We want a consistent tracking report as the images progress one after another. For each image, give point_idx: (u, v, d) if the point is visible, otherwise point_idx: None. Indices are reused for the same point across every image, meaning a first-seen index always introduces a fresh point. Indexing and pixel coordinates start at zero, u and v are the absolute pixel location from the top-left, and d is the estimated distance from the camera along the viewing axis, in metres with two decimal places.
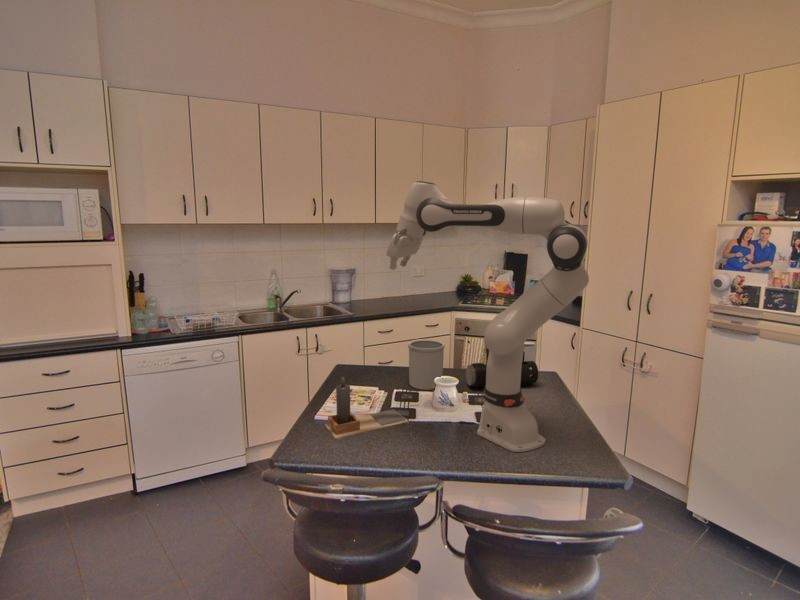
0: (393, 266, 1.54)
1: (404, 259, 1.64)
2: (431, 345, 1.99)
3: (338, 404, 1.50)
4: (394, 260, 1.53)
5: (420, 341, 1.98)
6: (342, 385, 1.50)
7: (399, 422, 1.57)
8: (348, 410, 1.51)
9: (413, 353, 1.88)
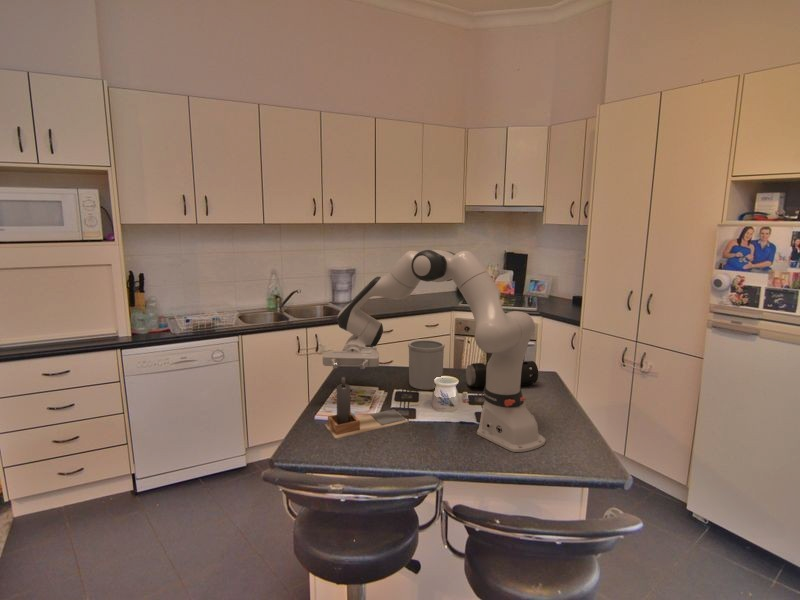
0: (333, 363, 1.63)
1: None
2: (431, 345, 1.99)
3: (338, 404, 1.50)
4: (331, 361, 1.65)
5: (420, 341, 1.98)
6: (342, 385, 1.50)
7: (399, 422, 1.57)
8: (348, 410, 1.51)
9: (413, 353, 1.88)
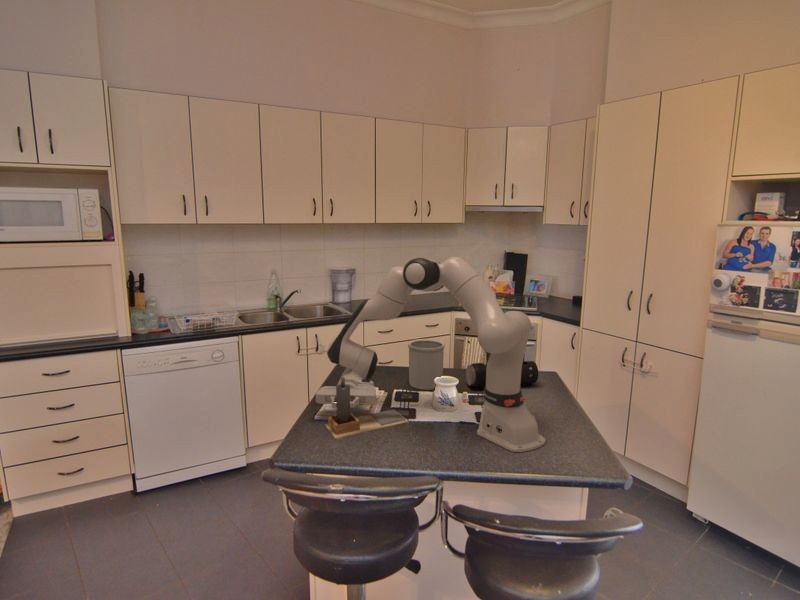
0: None
1: None
2: (431, 345, 1.99)
3: (338, 404, 1.50)
4: (330, 399, 1.54)
5: (420, 341, 1.98)
6: (342, 385, 1.50)
7: (399, 422, 1.57)
8: (348, 410, 1.51)
9: (413, 353, 1.88)
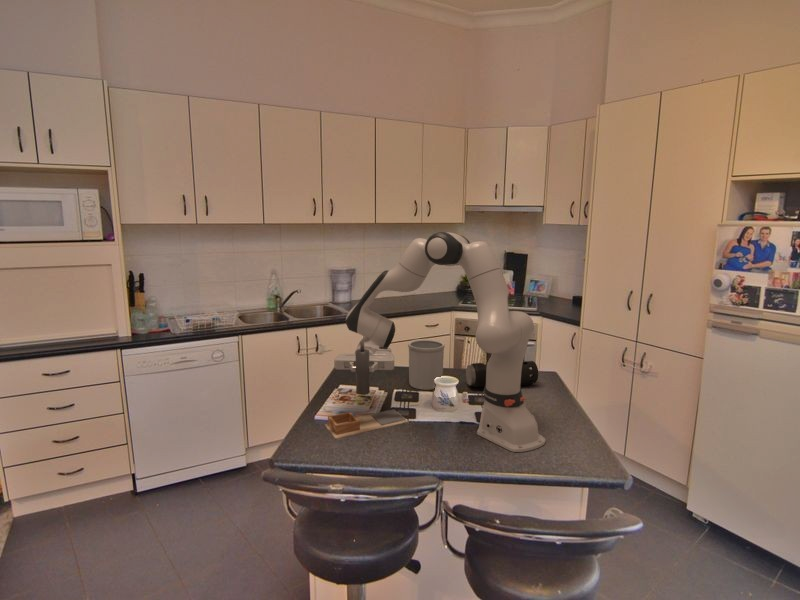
0: (351, 367, 1.52)
1: None
2: (431, 345, 1.99)
3: (358, 368, 1.50)
4: (349, 364, 1.55)
5: (420, 341, 1.98)
6: (361, 349, 1.50)
7: (399, 422, 1.57)
8: (367, 374, 1.51)
9: (413, 353, 1.88)
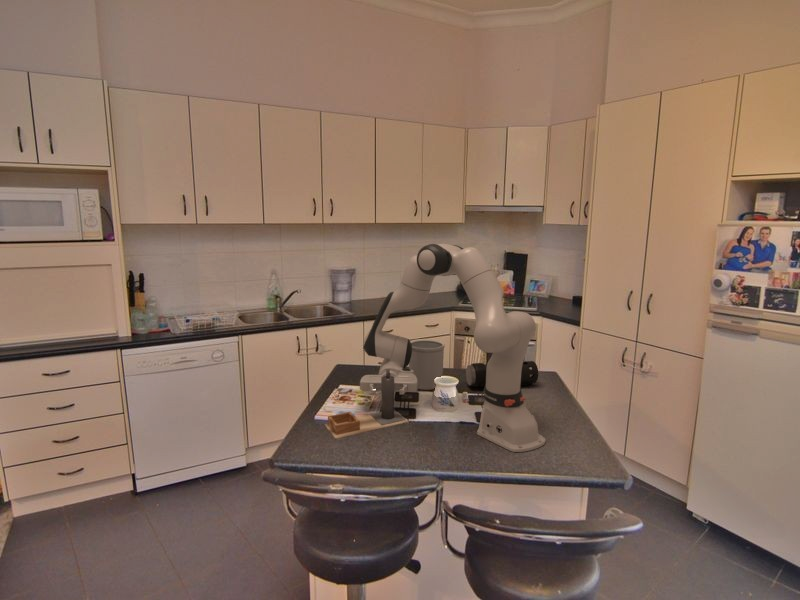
0: (371, 389, 1.59)
1: None
2: (431, 345, 1.99)
3: (383, 394, 1.57)
4: (369, 386, 1.61)
5: (420, 341, 1.98)
6: (387, 376, 1.57)
7: (399, 422, 1.57)
8: (392, 400, 1.58)
9: (413, 353, 1.88)
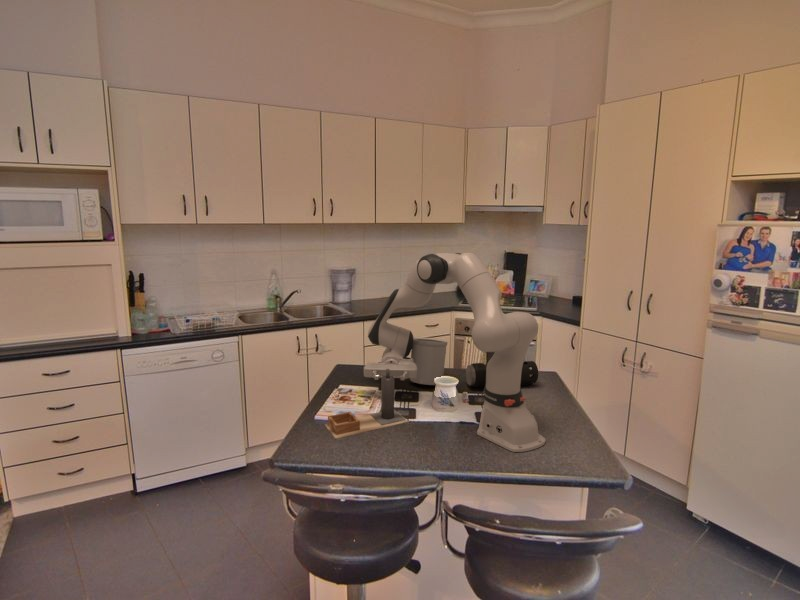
0: (374, 375, 1.72)
1: None
2: None
3: (383, 394, 1.57)
4: (372, 373, 1.74)
5: (423, 339, 2.01)
6: (387, 376, 1.57)
7: (399, 422, 1.57)
8: (392, 400, 1.58)
9: (416, 347, 1.90)
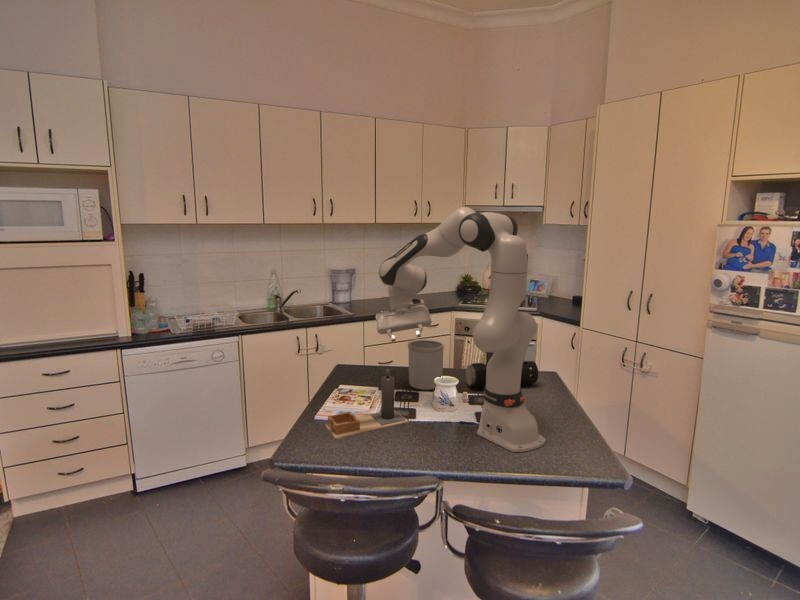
0: (390, 337, 1.70)
1: None
2: (431, 345, 1.99)
3: (383, 394, 1.57)
4: (387, 333, 1.72)
5: (420, 341, 1.98)
6: (387, 376, 1.57)
7: (399, 422, 1.57)
8: (392, 400, 1.58)
9: (412, 353, 1.88)
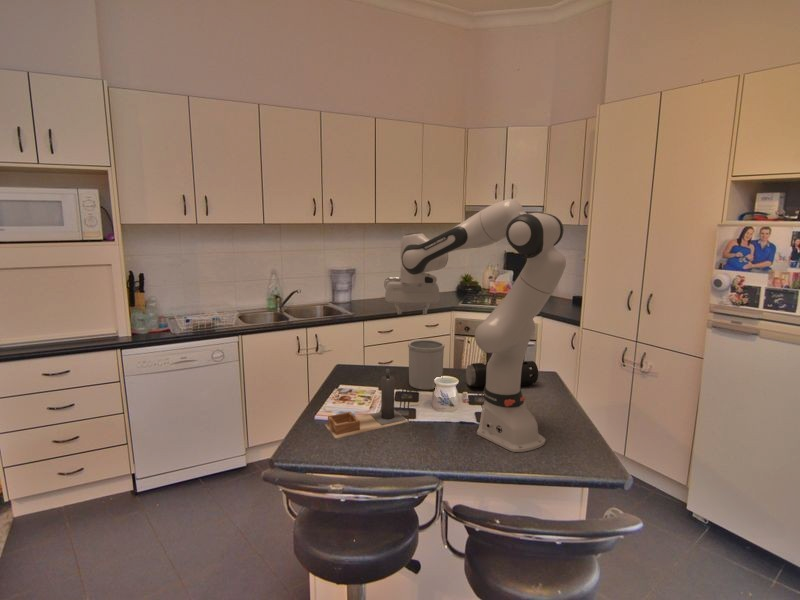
0: None
1: None
2: (431, 345, 1.98)
3: (383, 394, 1.57)
4: None
5: (420, 341, 1.98)
6: (387, 376, 1.57)
7: (399, 422, 1.57)
8: (392, 400, 1.58)
9: (413, 353, 1.88)
